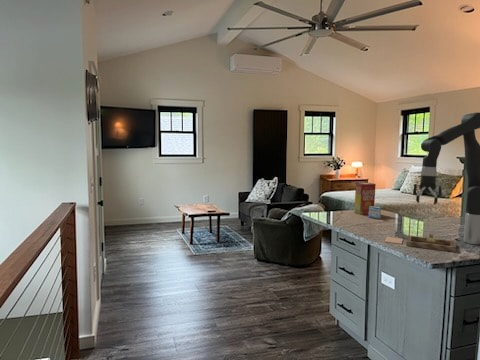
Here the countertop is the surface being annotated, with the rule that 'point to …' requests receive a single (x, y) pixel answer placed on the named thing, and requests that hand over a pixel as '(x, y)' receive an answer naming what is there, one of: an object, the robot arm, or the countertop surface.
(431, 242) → the lever cap
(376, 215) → the medicine box
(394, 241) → the mat
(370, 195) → the food packaging
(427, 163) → the robot arm
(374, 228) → the countertop surface
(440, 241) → the open wooden frame
